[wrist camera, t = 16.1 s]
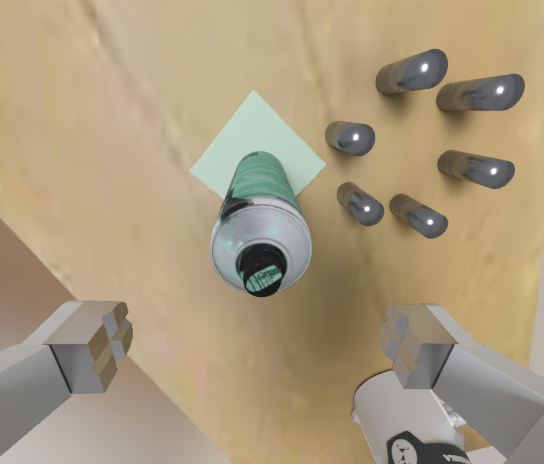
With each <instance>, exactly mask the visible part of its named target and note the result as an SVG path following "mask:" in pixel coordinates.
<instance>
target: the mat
mask: <svg viewBox="0 0 544 464" xmlns="http://www.w3.org/2000/svg"><path fill="white" fill-rule="evenodd" d="M254 151H265V152H268V153H270V154H272V155H274V156H275V157H276V158H277V159H278V160H279V161H280V163H281V165H282V167H283V169H284V171H285V174H286V176H287V178H288V181H289V183H290V186H291V188H292V190H293V193H294V195H295V197H296V196H297V195H298V194H299V193H300V192H301V191H302V190H303V189H304V188H305V187H306V186H307V185H308V184H309V183H310V182H311V181H312V180H313V179H314V178H315V177H316V175H317V174H318V173H319V172H320V171H321V170H322V169H323V168H324V167H325V166H326V163H325V162H324V161H323V160H322V159H321V158H320V157H319V156H318V155H317V154H316V153H315V152H314V151H313V150H312V149H311V148H310V147H309V146H308V145H307V144H306V143H305V142H304V141H303V140H302V139H301V138H300V137H299V136H298V135H297V134H296V133H295V132H294V131H293V129H292V128H291V127H290V126H289V125H288V124H287V123H286V122H285V121H284V120H283V119H282V118H281V117H280V116H279V115H278V114H277V113H276V112H275V111H274V110H273V109H272V108H271V107H270V106H269V105H268V104H267V103H266V102H265V101H264V100H263V99H262V98H261V96H260V95H259V94H258V93H257V92H256V91H255V90H253V91H252V92H251V93H250V95H249V96H248V97H247V98H246V100H245V101H244V102H243V104H242V105H241V106H240V107H239V109H238V110H237V111H236V113H235V114H234V115H233V116H232V118H231V119H230V120H229V121H228V123H227V124H226V125H225V127H224V128H223V129H222V130H221V132H220V133H219V134H218V135H217V137H216V138H215V139H214V141H213V142H212V143H211V144H210V146H209V147H208V148H207V149H206V151H205V152H204V153H203V155H202V156H201V157H200V158H199V160H198V161H197V162H196V163H195V165H194V166H193V167H192V169H191V170H190V171H189V172H190V173H191V174H193V175H194V176H195V177H196V178H197V179H199V180H200V181H201V182H202V183H204V184H205V185H206V186H207V187H209V188H210V189H211V190H212V191H214V192H215V193H216V194H217V195H219V196H220V197H221V198H222V199H225V197H226V194H227V191H228V189H229V186H230V184H231V181H232V178H233V176H234V173H235V171H236V168H237V166H238V163H239V162H240V161H241V159H242V158H243V157H244V156H245V155H247V154H249V153H251V152H254Z"/></svg>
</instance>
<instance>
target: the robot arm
mask: <svg viewBox="0 0 544 464" xmlns="http://www.w3.org/2000/svg"><path fill="white" fill-rule="evenodd" d="M127 314H128V308H127V305H126V303H124V302H117V301H75V300H73V301H72V300H71V301H68V302H65V303H64V304H63V305H62V306H61V307H60V308H59V309H58V310H56V311H55V312H54V313H53V314H52V315H51V316H50V317H49V318H48V319H47V320H46V321H45V322H44V323H43V324H42V325H41V326H40V327H39V328H38V329H37V330H35V331H34V332H33V333H32V334H31V335H30V336H29V337H28V338H27V339H26V340H25V341H24V342H23V343H22V344H21V345H13V346H11V347H9V348H7V349H5V350H3V351H1V352H0V456H1V455H2V454H3V453H5V452H6V451H7V450H8V449H9V448H11V447H12V446H13V445H14V444H15V443H16V442H18V441H19V440H20V439H21V438H22V437H23V436H25V435H26V434H27V433H28V432H29V431H31V430H32V429H33V428H34V427H35V426H36V425H37V424H39V423H40V422H41V421H42V420H43V419H45V418H46V417H47V416H48V415H50V414H51V413H52V412H53V411H54V410H55V409H57V408H58V407H59V406H60V405H61V404H62V403H64V402H65V401H66V400H67V399H68V398H70V397H71V394H85V393H86V394H87V393H105V392H106V390H107V388H108V386H109V384H110V383H111V381H112V379H113V377H114V376H115V374H116V372H117V370H118V369H117V365H116V363H117V362H118V361H119V360H121V359H122V358H123V357H125V356H126V354H127V352H128V350H129V348H130V346H131V342H132V338H133V328H132V324H131V323H130V322H129V321H128V320H127V319H126V318H125V317H126V315H127ZM385 315H386V317H387V320H386V321H384V322H383V323H382V324H381V327H380V331H379V335H380V343H381V346H382V349H383V351H384V353H385V355H386V356H387V357H389V358H390V359H391V360H393V361H394V363H393V367H392V368H393V370H392V371H388V372H384V373H381V374H379V375H376V376H374V377H372V378H371V379H369V380H367V381H366V382H365V383H364V384H362V385H361V386H360V387H359V389H358V390H357V392H356V394H355V396H354V404H355V408H354V410H353V412H352V418H353V420H354V422H356V423H359V424H360V425H361V427H362V430H363V432H364V435H365V437H366V440H367V442H368V445H369V447H370V450H371V452H372V455H373V457H374V460H375V461H376V463H377V464H471V463H470V461H469V459H468V457H467V455H466V453H465V452H464V442H465V436H464V434H463V432H462V431H461V429H460V427H459V426H462V425H465V424H466V423H468V424H469V425H470V426H471V427H472V428H473V429H475V430H476V431H477V432H478V433H479V434H480V435H481V436H482V437H483V438H485V439H486V440H487V441H488V442H489V443H490V444H491V445H492V446H494V447H495V448H496V449H497V450H498V451H499V452H500V453H501V454H503V455H504V456H505V457H506V458H507V460H506V461H505V462H504V464H544V377H542V376H540V375H538V374H536V373H534V372H533V371H531V370H529V369H527V368H525V367H524V366H522V365H520V364H518V363H516V362H514V361H513V360H511V359H509V358H507V357H505V356H504V355H502V354H500V353H498V352H496V351H494V350H493V349H491V348H489V347H487V346H485V345H484V344H477V343H476V342H475V341H474V340H473V339H472V337H471V336H470V335H469V334H468V333H467V332H466V331H465V330H464V329H463V328H462V327H461V326H460V325H459V324H458V323H457V322H456V321H455V320H454V319H453V318H452V317H451V316H450V315H449V313H448V312H447V311H446V310H445V309H444V308H443V307H442V306H440V305H438V304H436V303H429V304H389V305H388V306H387V307H386V310H385Z"/></svg>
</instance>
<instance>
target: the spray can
mask: <svg viewBox="0 0 544 464" xmlns="http://www.w3.org/2000/svg"><path fill="white" fill-rule="evenodd" d="M311 255H312V243H311V235H310V232H309V228H308V225H307V223H306V221H305V218H304V216H303V214H302V211H301V209H300V207H299V204H298V202H297V200H296V197H295V195H294V193H293V190H292V188H291V186H290V183H289V181H288V178H287V176H286V174H285V171H284V169H283V167H282V165H281V163H280V161H279V160H278V159H277V158H276V157H275V156H274V155H272V154H270V153H268V152H265V151H254V152H251V153H249V154H247V155H245V156H244V157H243V158H242V159H241V161H240V162H239V163H238V166H237V168H236V171H235V173H234V176H233V178H232V181H231V184H230V186H229V189H228V191H227V194H226V197H225V199H224V202H223V204H222V207H221V210H220V212H219V215H218V217H217V220H216V223H215V225H214V228H213V231H212V235H211V245H210V257H211V261H212V264H213V266H214V268H215V270H216V272H217V273H218V275H219V276H220V277H221V278H222V279H223V280H224V281H225V282H226V283H227V284H229V285H230V286H232V287H234V288H235V289H237V290H240V291H243V292H246V293H250V294H251V295H253V296H256V297H267V296H270V295H272V294H274V293H275V292H278V291H281V290H284V289H286V288H288V287H290V286H291V285H293V284H294V283H295V282H297V281H298V280H299V279H300V278H301V277H302V276H303V274H304V273H305V271H306V270H307V268H308V266H309V263H310V261H311Z"/></svg>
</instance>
